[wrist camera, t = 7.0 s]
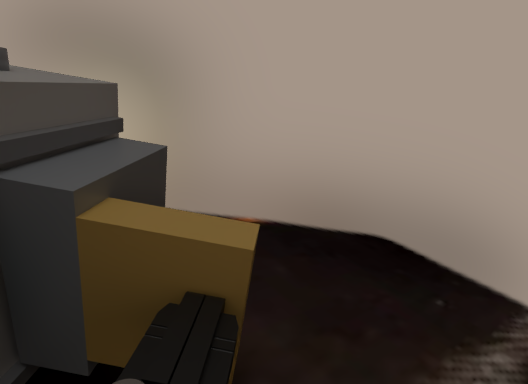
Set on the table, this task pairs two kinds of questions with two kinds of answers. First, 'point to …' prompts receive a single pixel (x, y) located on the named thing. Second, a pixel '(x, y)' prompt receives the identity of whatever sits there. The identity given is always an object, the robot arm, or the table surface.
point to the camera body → (45, 148)
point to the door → (108, 254)
